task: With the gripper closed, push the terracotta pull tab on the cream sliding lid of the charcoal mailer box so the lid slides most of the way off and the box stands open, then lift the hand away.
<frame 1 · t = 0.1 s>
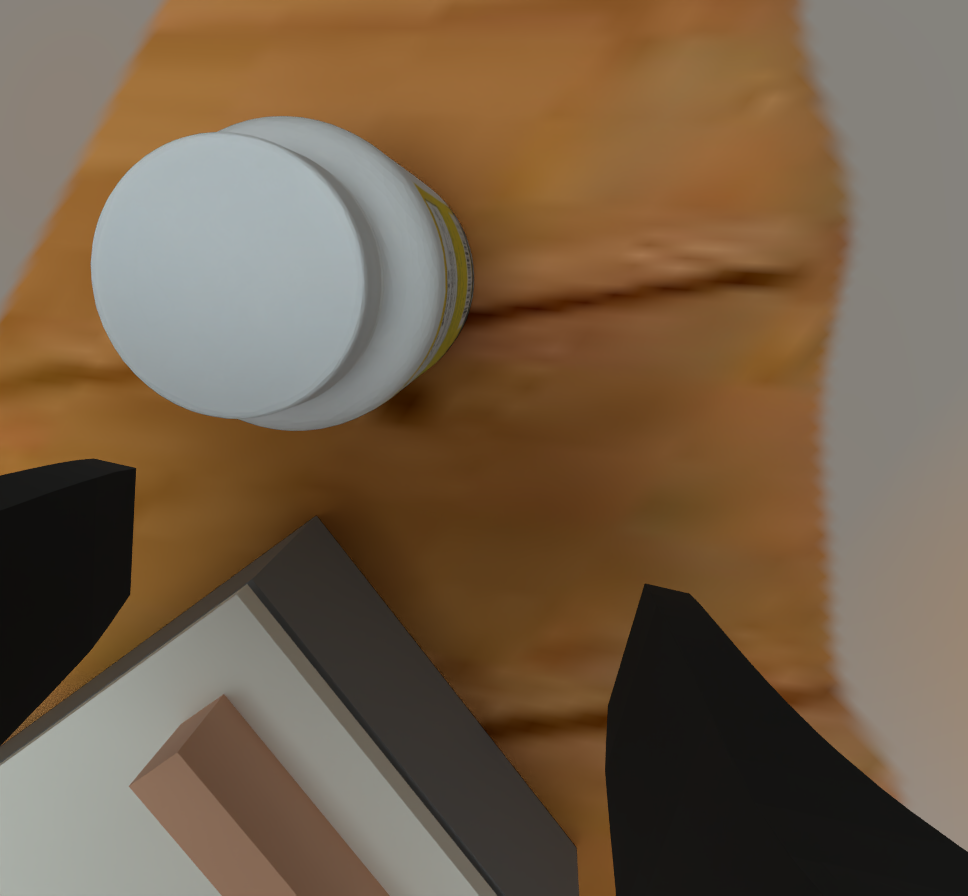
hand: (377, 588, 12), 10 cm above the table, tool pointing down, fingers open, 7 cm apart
mailer box: (207, 846, 25), on the table
supplement bottle: (372, 280, 21), on the table
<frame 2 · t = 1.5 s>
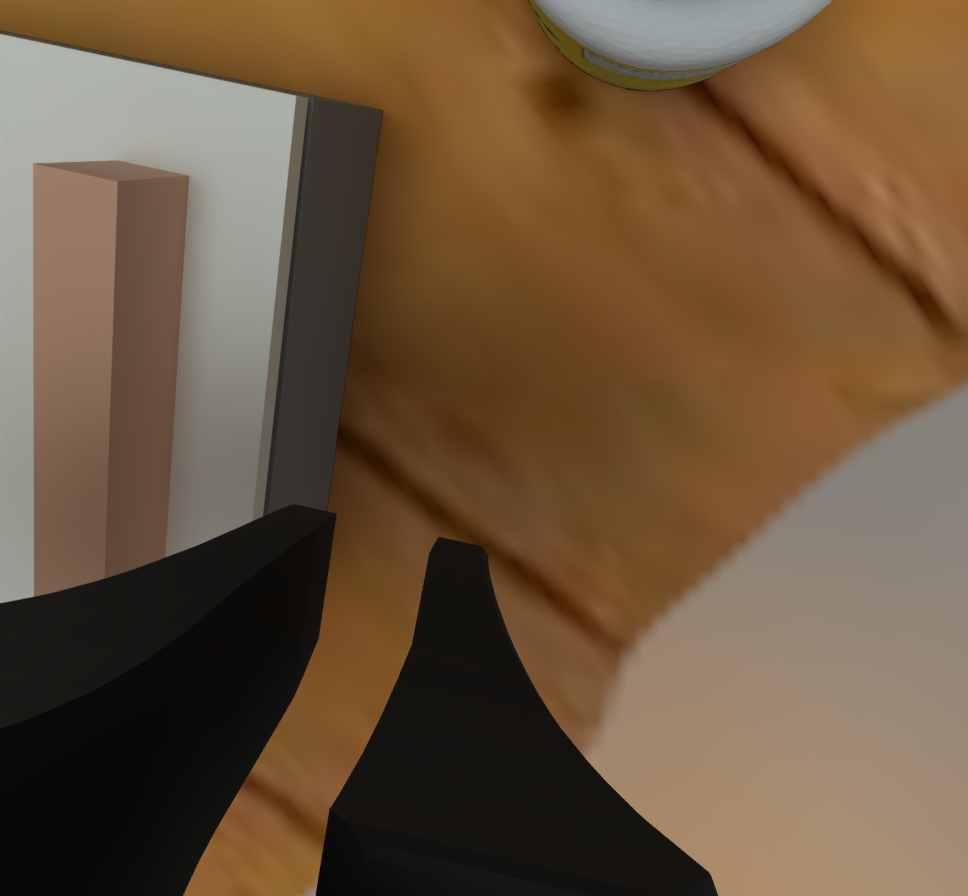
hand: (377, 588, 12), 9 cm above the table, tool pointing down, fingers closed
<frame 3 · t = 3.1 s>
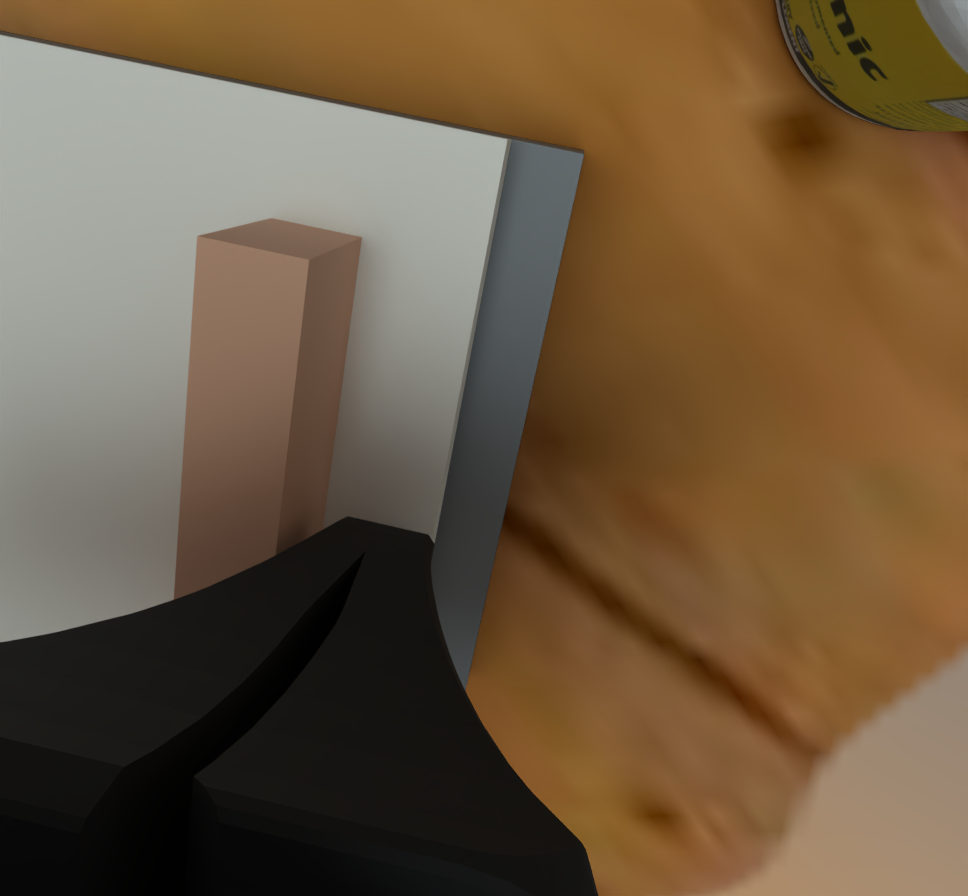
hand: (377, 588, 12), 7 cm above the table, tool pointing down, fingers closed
mailer box: (111, 356, 18), on the table
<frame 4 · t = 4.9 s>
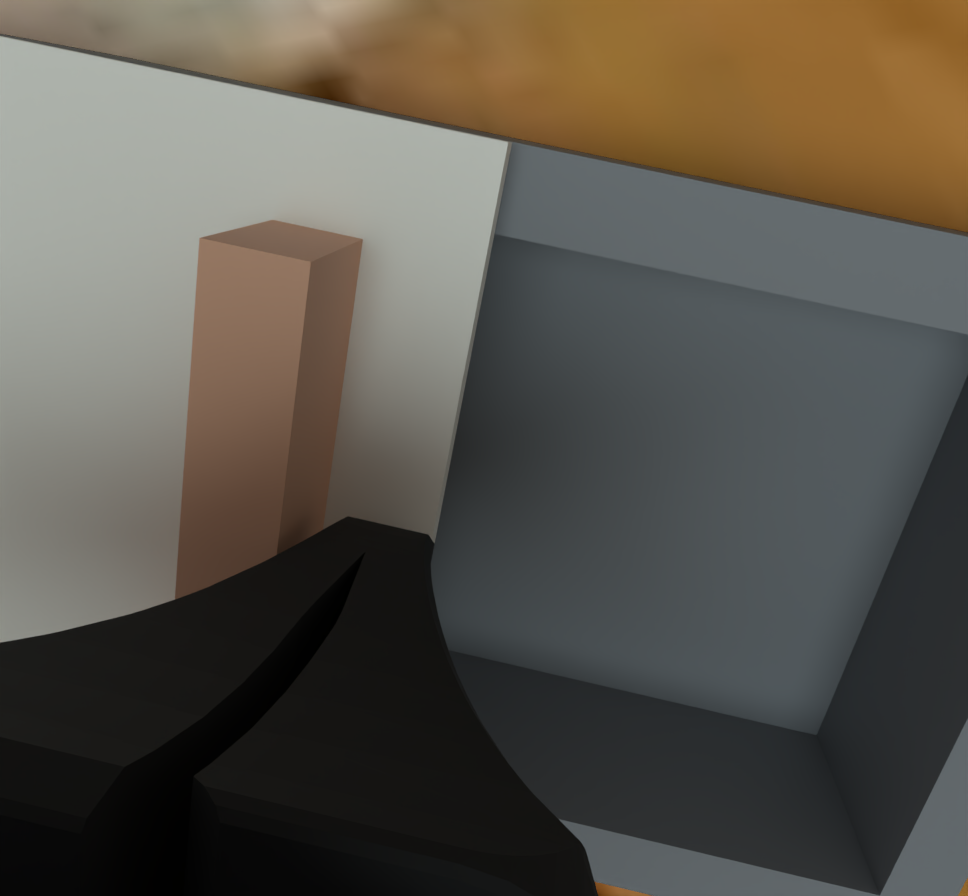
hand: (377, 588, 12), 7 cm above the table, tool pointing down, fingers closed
mailer box: (518, 446, 18), on the table
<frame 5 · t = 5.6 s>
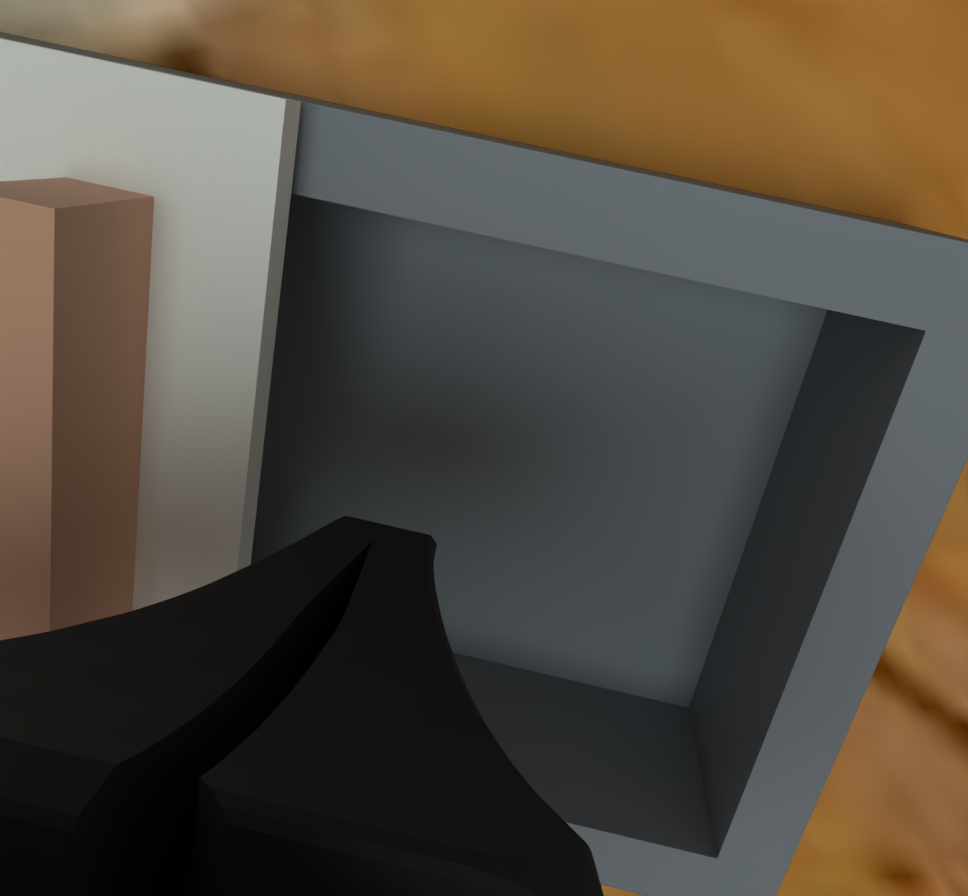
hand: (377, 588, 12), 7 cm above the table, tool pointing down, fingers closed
mailer box: (388, 419, 18), on the table
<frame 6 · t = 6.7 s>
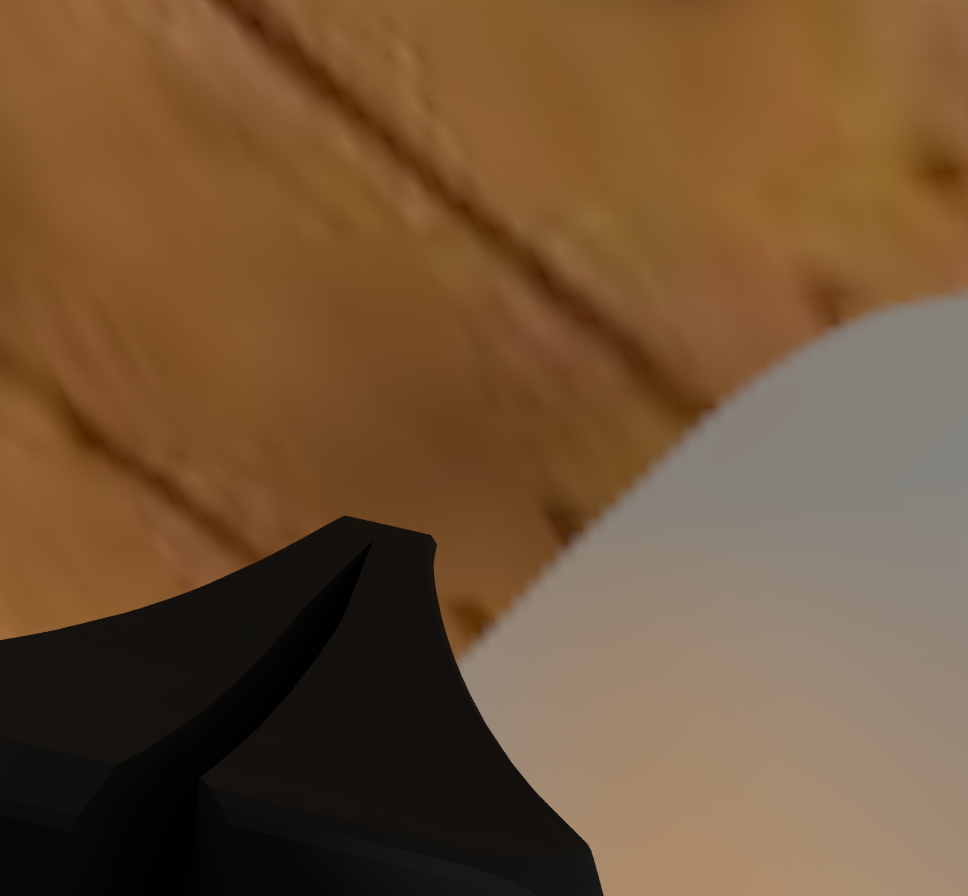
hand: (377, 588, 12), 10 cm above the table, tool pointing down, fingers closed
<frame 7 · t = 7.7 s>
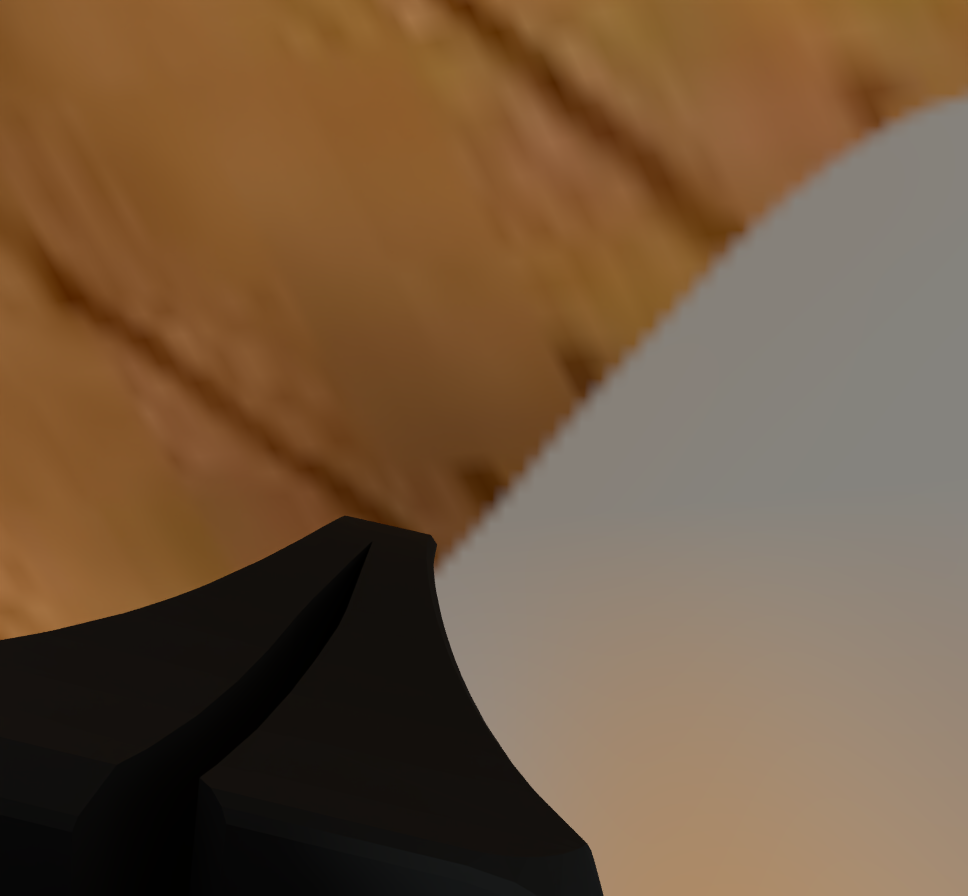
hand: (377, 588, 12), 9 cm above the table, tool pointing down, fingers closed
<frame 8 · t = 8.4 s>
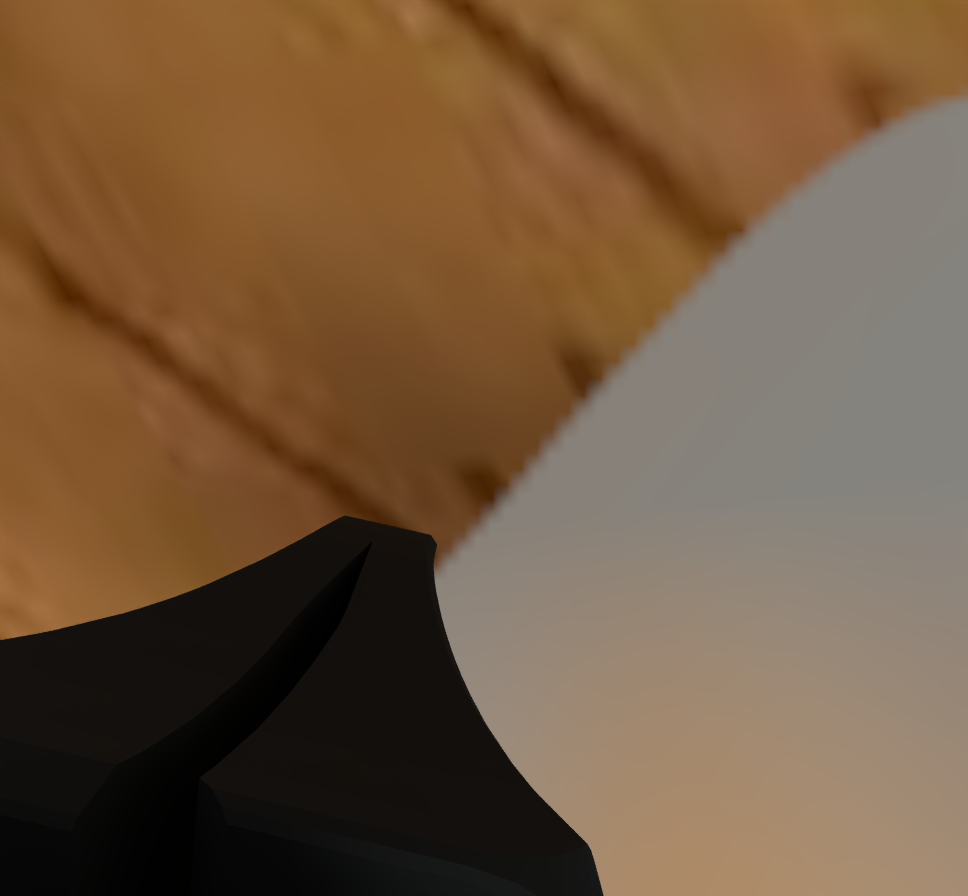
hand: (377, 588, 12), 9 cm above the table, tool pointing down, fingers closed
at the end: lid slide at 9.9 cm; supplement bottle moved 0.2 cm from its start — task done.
